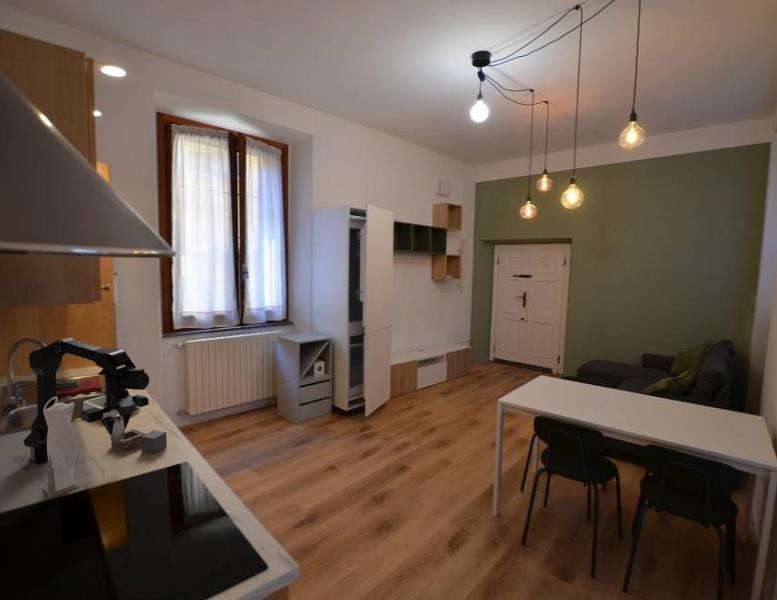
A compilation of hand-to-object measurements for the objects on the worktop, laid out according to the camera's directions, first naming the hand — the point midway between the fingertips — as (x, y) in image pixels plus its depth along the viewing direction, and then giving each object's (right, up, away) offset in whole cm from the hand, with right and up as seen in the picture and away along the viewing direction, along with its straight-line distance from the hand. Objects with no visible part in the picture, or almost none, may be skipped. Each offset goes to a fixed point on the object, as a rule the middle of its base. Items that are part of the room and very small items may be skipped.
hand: (117, 431), depth 132 cm
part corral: (-34, -6, +45) cm, 57 cm away
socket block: (-6, -10, +15) cm, 19 cm away
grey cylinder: (0, -2, 0) cm, 2 cm away
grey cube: (+5, -11, +12) cm, 17 cm away
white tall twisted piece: (-9, -13, -12) cm, 20 cm away
